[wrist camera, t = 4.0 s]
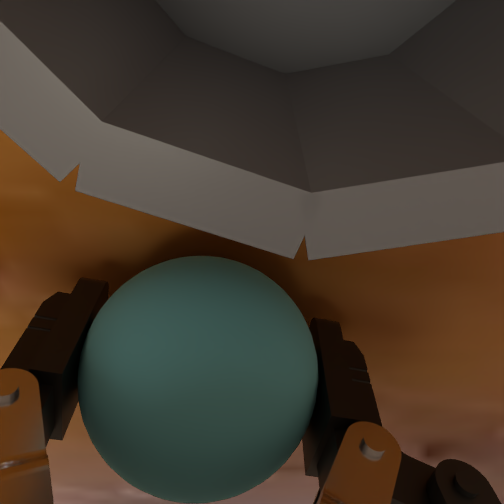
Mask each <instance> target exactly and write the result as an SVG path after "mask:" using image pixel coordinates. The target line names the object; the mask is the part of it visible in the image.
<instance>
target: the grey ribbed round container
mask: <svg viewBox="0 0 504 504" xmlns="http://www.w3.org/2000/svg"><path fill="white" fill-rule="evenodd" d="M0 129H1V130H2V131H3V132H4V133H5V134H6V135H7V136H9V137H10V138H11V139H12V140H13V141H14V142H15V143H16V144H18V145H19V146H20V147H21V148H22V149H23V150H24V151H25V152H27V153H28V154H29V155H30V156H31V157H32V158H33V159H34V160H36V161H37V162H38V163H39V164H40V165H41V166H42V167H44V168H45V169H46V170H47V171H48V172H49V173H50V174H51V175H53V176H54V177H55V178H56V179H57V180H58V181H59V182H60V181H62V180H63V179H64V178H65V177H66V176H67V175H68V174H69V173H70V172H71V171H72V170H73V169H74V168H75V167H76V166H77V165H78V164H79V163H80V166H79V172H78V178H77V183H76V189H75V191H78V192H81V193H84V194H87V195H90V196H93V197H97V198H100V199H103V200H106V201H109V202H113V203H116V204H119V205H122V206H125V207H129V208H132V209H135V210H138V211H141V212H144V213H148V214H151V215H154V216H157V217H160V218H164V219H167V220H170V221H173V222H176V223H180V224H183V225H186V226H189V227H192V228H195V229H199V230H202V231H205V232H208V233H211V234H215V235H218V236H221V237H224V238H227V239H231V240H234V241H237V242H240V243H243V244H246V245H250V246H253V247H256V248H259V249H262V250H266V251H269V252H272V253H275V254H278V255H282V256H285V257H288V258H291V259H294V257H295V255H296V253H297V251H298V249H299V246H300V244H301V242H302V240H303V238H304V236H305V242H306V248H307V254H308V260H314V259H321V258H328V257H335V256H342V255H349V254H356V253H362V252H369V251H376V250H383V249H390V248H397V247H404V246H411V245H417V244H424V243H431V242H438V241H445V240H452V239H459V238H465V237H472V236H479V235H486V234H493V233H500V232H504V0H0Z"/></svg>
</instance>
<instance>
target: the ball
mask: <svg viewBox="0 0 504 504" xmlns="http://www.w3.org/2000/svg"><path fill="white" fill-rule="evenodd" d="M77 384H78V401H79V406H80V410H81V414H82V418H83V422H84V425H85V427H86V429H87V432H88V434H89V436H90V439H91V441H92V443H93V444H94V446H95V448H96V449H97V451H98V452H99V454H100V455H101V456H102V458H103V459H104V461H105V462H106V463H107V464H108V465H109V466H110V467H111V468H112V469H113V470H114V471H115V472H116V473H117V474H118V475H120V476H121V477H122V478H123V479H124V480H125V481H127V482H128V483H130V484H131V485H132V486H134V487H136V488H138V489H140V490H142V491H144V492H146V493H148V494H151V495H153V496H155V497H158V498H161V499H165V500H169V501H174V502H180V503H208V502H215V501H219V500H224V499H228V498H231V497H234V496H237V495H240V494H242V493H244V492H246V491H248V490H250V489H252V488H253V487H255V486H257V485H259V484H261V483H262V482H264V481H265V480H266V479H268V478H269V477H270V476H271V475H272V474H274V473H275V472H276V471H277V470H278V469H279V468H280V467H281V466H282V465H283V464H284V463H285V462H286V461H287V460H288V458H289V457H290V456H291V454H292V453H293V452H294V450H295V449H296V448H297V446H298V445H299V443H300V441H301V439H302V437H303V436H304V434H305V432H306V430H307V428H308V426H309V423H310V420H311V417H312V414H313V410H314V407H315V404H316V397H317V388H318V363H317V355H316V350H315V346H314V342H313V338H312V335H311V332H310V330H309V328H308V326H307V323H306V321H305V319H304V317H303V315H302V313H301V312H300V310H299V309H298V307H297V306H296V304H295V303H294V302H293V300H292V299H291V298H290V297H289V296H288V294H287V293H286V292H285V291H284V290H283V289H282V288H281V287H280V286H279V285H277V284H276V283H275V282H274V281H273V280H271V279H270V278H269V277H267V276H266V275H264V274H263V273H261V272H260V271H258V270H256V269H254V268H252V267H250V266H248V265H246V264H243V263H240V262H237V261H234V260H230V259H226V258H221V257H214V256H188V257H181V258H176V259H171V260H168V261H165V262H162V263H159V264H157V265H154V266H152V267H150V268H148V269H146V270H144V271H142V272H140V273H139V274H137V275H136V276H134V277H133V278H131V279H130V280H128V281H127V282H126V283H124V284H123V285H122V286H121V287H120V288H119V289H118V290H117V291H115V292H114V293H113V295H112V296H111V297H110V298H109V299H108V300H107V302H106V303H105V304H104V305H103V307H102V308H101V309H100V311H99V312H98V314H97V316H96V317H95V319H94V321H93V323H92V325H91V327H90V328H89V330H88V333H87V336H86V339H85V341H84V344H83V347H82V351H81V355H80V361H79V367H78V375H77Z"/></svg>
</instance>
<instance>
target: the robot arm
mask: <svg viewBox="0 0 504 504" xmlns="http://www.w3.org/2000/svg"><path fill="white" fill-rule="evenodd" d="M108 289H109V285H108V282H106V281H100V280H94V279H88V278H80V279H79V281H78V282H77V284H76V286H75V288H74V290H73V291H72V293H71V294H68V293H62V292H57V293H55V294H54V295H53V296H51V297H50V298H48V299H47V300H45V301H44V302H43V303H42V304H41V306H40V308H39V309H38V311H37V312H36V314H35V317H34V318H33V319H32V320H31V322H30V323H29V325H28V328H26V330H25V331H24V333H23V334H22V336H21V338H20V339H19V341H18V342H17V344H16V345H15V347H14V349H13V350H12V352H11V353H10V355H9V357H8V358H7V360H6V361H5V363H4V364H3V366H2V368H1V369H0V504H53V495H52V486H51V477H50V468H49V460H48V455H47V454H46V446H47V443H48V441H49V439H56V440H63V437H64V435H65V432H66V430H67V428H68V425H69V423H70V420H71V418H72V415H73V413H74V411H75V408H76V406H77V403H78V384H77V375H78V367H79V361H80V355H81V351H82V347H83V344H84V341H85V339H86V336H87V333H88V330H89V328H90V327H91V325H92V323H93V321H94V319H95V317H96V316H97V314H98V312H99V311H100V309H101V308H102V307H103V305H104V304H105V303H106V302H107V300H108ZM309 330H310V332H311V335H312V338H313V342H314V346H315V350H316V355H317V363H318V388H317V397H316V404H315V407H314V410H313V414H312V417H311V420H310V423H309V426H308V428H307V430H306V432H305V434H304V436H303V437H302V441H303V452H304V464H305V475H307V476H314V477H318V478H319V487H320V488H319V490H318V492H317V495H316V497H315V499H314V502H313V504H501V502H500V501H499V499H498V497H497V495H496V494H495V492H494V490H493V488H492V487H491V485H490V484H489V482H488V481H487V479H486V478H485V477H484V476H483V475H482V474H481V473H480V472H479V471H478V470H476V469H475V468H474V467H472V466H471V465H469V464H467V463H465V462H462V461H459V460H455V459H447V460H443V461H442V462H440V463H439V464H438V465H437V467H436V468H434V467H432V466H430V465H427V464H425V463H423V462H421V461H418V460H416V459H414V458H412V457H410V456H408V455H406V454H404V453H403V452H401V450H400V447H399V444H398V442H397V441H396V439H395V438H394V437H393V436H392V435H391V434H390V433H389V432H388V431H387V430H386V429H384V428H383V427H382V423H381V420H380V416H379V412H378V408H377V404H376V401H375V397H374V393H373V389H372V385H371V384H370V378H369V374H368V372H367V366H366V363H365V359H364V355H363V354H362V353H361V351H360V350H359V349H358V347H357V346H356V345H355V343H354V342H351V341H345V340H343V337H342V332H341V327H340V324H339V322H336V321H330V320H324V319H318V318H313V319H312V321H311V323H310V326H309Z"/></svg>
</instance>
